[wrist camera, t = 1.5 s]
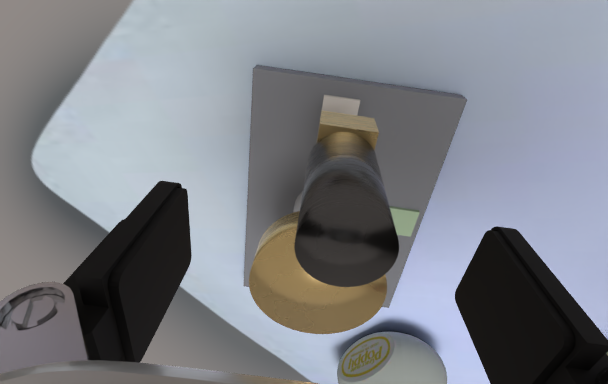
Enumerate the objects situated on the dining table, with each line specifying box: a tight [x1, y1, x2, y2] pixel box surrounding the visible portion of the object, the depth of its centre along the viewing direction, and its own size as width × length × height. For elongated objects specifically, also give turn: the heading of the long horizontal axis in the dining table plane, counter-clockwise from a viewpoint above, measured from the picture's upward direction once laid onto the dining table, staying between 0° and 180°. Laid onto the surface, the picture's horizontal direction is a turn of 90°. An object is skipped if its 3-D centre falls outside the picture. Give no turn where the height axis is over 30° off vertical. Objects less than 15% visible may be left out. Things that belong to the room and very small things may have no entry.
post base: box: [244, 65, 467, 308], centre depth 25 cm, size 14×20×7 cm
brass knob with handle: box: [249, 110, 399, 334], centre depth 16 cm, size 8×14×8 cm, turn 173°
